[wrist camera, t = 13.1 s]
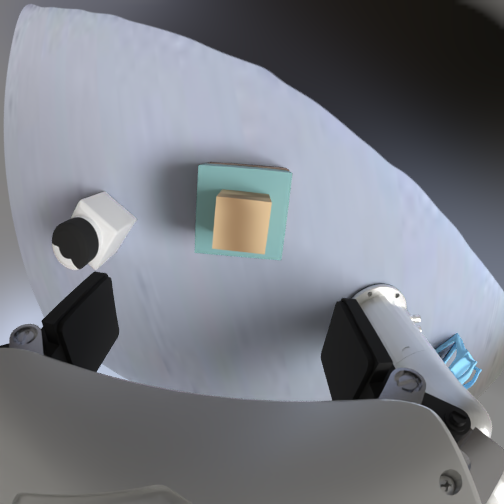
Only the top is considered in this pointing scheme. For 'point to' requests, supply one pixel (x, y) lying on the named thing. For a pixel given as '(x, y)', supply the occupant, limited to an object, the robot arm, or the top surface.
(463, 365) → the chair
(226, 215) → the oak block
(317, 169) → the top surface
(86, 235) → the medicine bottle
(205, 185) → the teal slab
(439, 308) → the top surface
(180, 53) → the top surface
